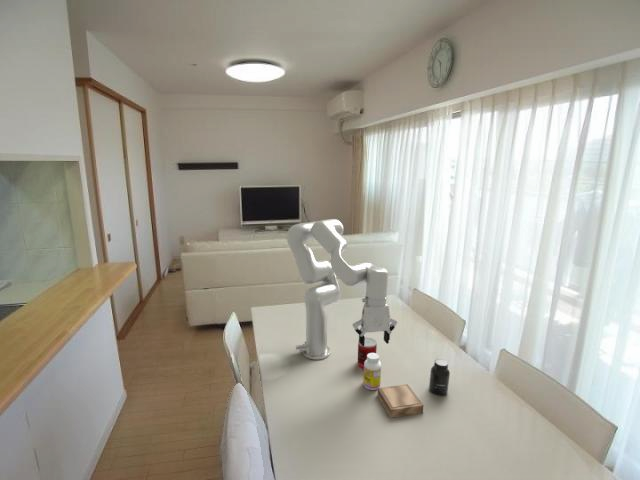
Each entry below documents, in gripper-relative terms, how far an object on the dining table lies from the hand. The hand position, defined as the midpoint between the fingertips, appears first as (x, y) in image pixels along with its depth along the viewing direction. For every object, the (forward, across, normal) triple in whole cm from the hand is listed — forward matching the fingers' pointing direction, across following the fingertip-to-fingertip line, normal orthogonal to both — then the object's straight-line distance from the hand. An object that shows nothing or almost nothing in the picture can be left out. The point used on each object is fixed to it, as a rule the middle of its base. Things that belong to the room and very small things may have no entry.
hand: (374, 343), depth 132 cm
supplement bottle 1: (+18, 0, 0) cm, 18 cm away
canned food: (+18, +3, +14) cm, 23 cm away
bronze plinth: (+18, +6, -12) cm, 22 cm away
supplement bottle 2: (+18, +24, -8) cm, 31 cm away
